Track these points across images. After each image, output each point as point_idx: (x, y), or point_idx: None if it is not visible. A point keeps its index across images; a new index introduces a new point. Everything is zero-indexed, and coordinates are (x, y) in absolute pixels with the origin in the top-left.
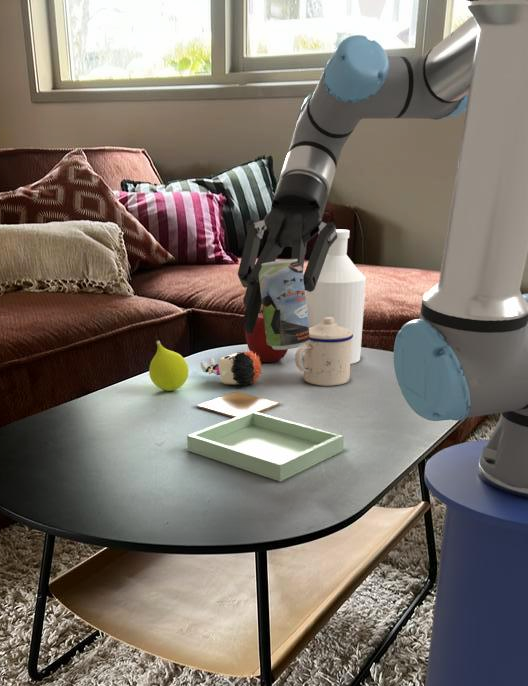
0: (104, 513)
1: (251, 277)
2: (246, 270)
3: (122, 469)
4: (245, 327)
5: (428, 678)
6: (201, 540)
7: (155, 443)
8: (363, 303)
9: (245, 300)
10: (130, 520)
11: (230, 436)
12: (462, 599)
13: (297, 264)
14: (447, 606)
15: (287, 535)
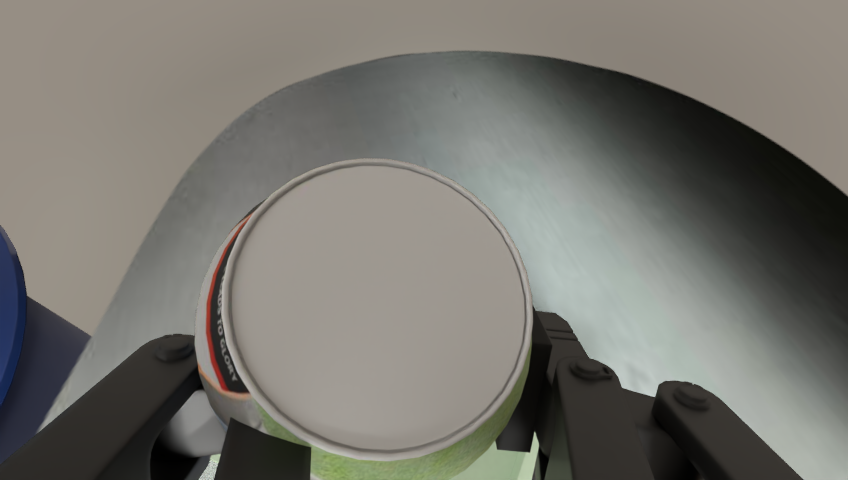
0: (551, 102)
1: (593, 365)
2: (674, 411)
3: (623, 239)
4: None
5: None
6: (392, 66)
7: (647, 380)
8: None
9: (553, 319)
10: (506, 92)
11: (502, 458)
12: (58, 319)
13: (223, 270)
14: None
15: (281, 95)
